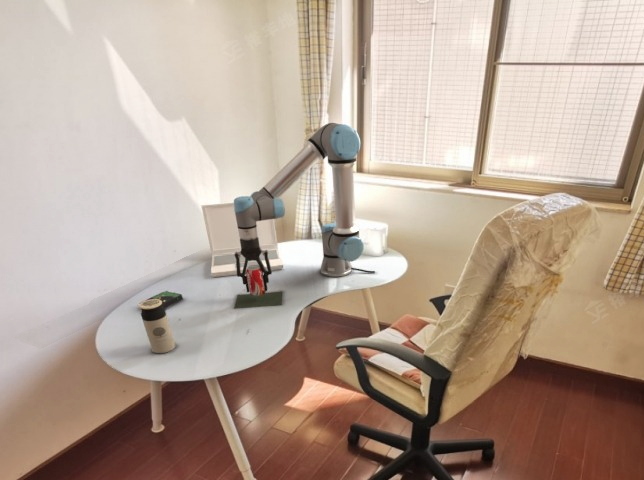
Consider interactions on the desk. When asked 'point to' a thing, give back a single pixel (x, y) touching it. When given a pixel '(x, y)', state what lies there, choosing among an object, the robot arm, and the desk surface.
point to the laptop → (236, 240)
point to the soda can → (255, 280)
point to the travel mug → (157, 326)
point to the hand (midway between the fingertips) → (257, 290)
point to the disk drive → (167, 298)
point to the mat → (258, 300)
